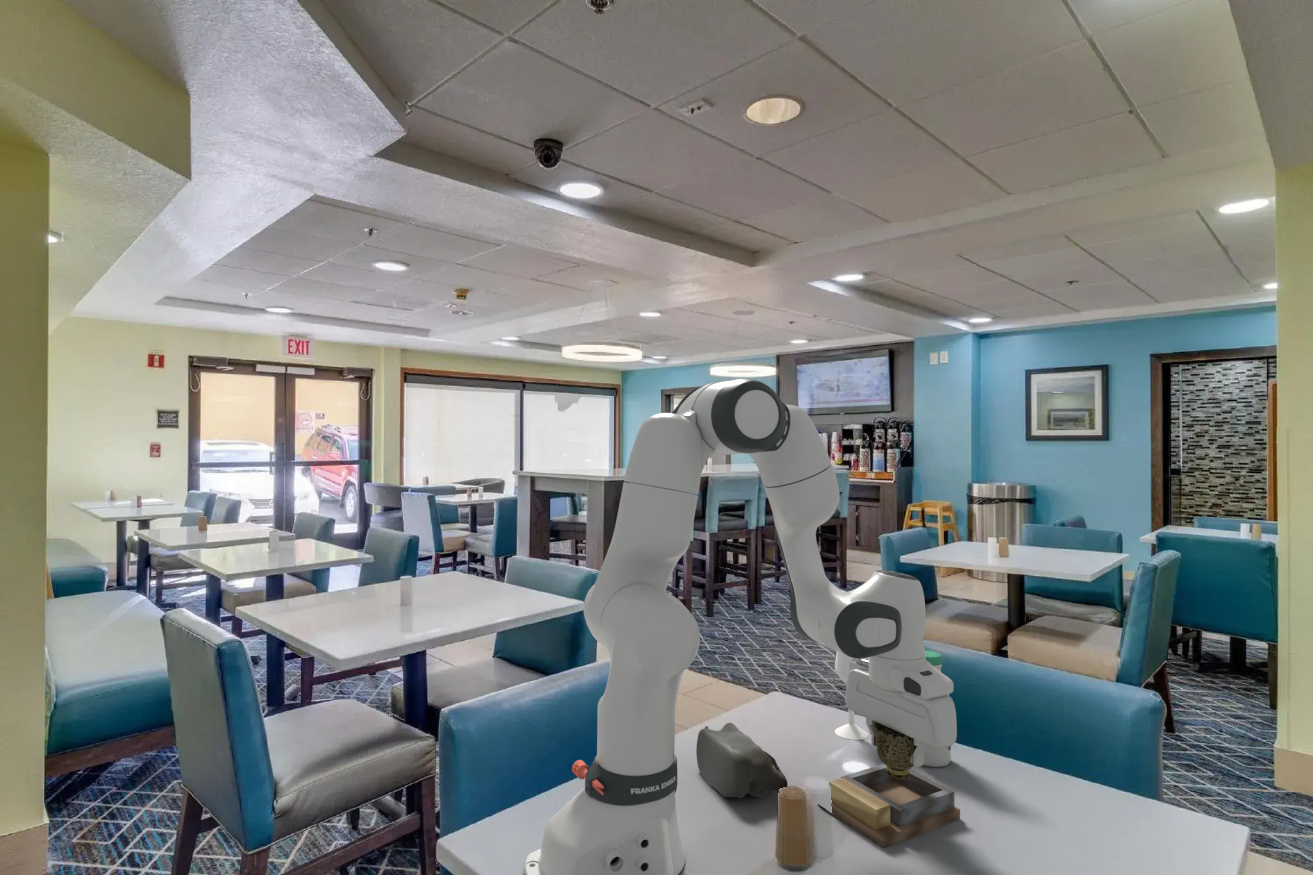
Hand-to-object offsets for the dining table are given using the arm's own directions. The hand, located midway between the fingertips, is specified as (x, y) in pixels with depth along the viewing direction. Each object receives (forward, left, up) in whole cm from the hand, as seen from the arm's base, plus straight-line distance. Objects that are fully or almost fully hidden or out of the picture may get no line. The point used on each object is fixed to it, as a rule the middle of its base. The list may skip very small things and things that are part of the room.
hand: (896, 755), depth 114 cm
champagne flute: (+16, +26, -9) cm, 32 cm away
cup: (0, 0, -3) cm, 3 cm away
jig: (-2, 0, -9) cm, 9 cm away
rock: (-17, +20, -9) cm, 28 cm away
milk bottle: (+20, +10, -9) cm, 24 cm away
